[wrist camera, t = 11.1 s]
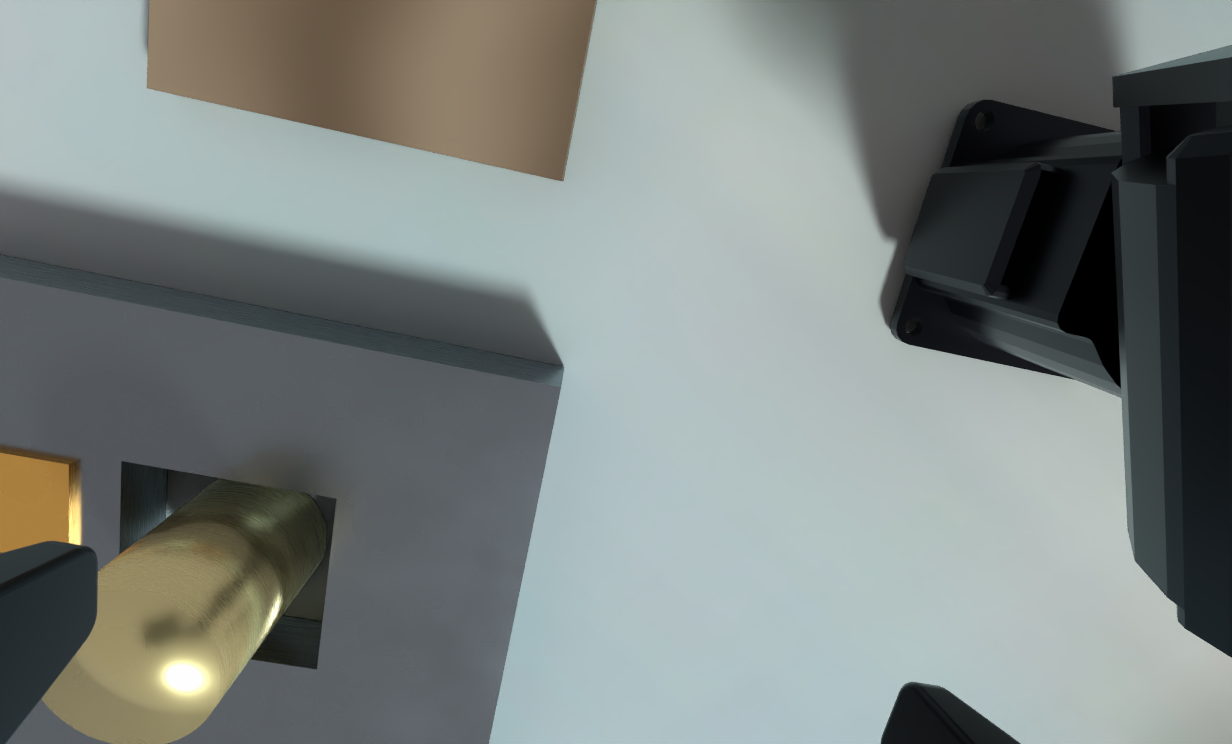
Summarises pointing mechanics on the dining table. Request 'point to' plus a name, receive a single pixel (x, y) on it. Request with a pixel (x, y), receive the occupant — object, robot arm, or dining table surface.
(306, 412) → the hole plate
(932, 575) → the dining table surface
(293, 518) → the brass peg
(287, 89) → the pad
